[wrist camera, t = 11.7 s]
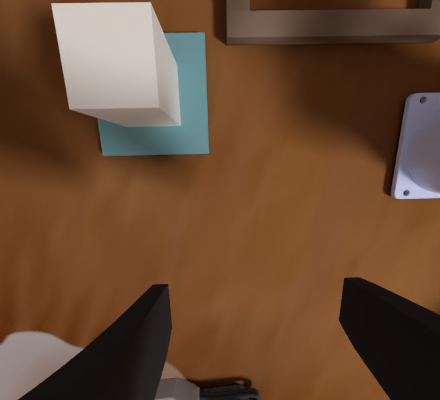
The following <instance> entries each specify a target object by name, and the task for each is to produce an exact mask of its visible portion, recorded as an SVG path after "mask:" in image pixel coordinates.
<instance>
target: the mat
mask: <svg viewBox="0 0 440 400" xmlns="http://www.w3.org/2000/svg"><path fill="white" fill-rule="evenodd" d="M164 35H165V38H166V40H167V42H168V45H169V47H170V49H171V52H172V54H173V57H174V59H175V61H176V64H177V71H178V87H179V103H180V119H181V126H150V127H125V126H122V125H118V124H115V123H112V122H109V121H106V120H102V119H99V118H97V119H98V126H99V133H100V140H101V147H102V154H103V156H131V155H174V154H209V141H208V112H207V83H206V53H205V33H164Z"/></svg>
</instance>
